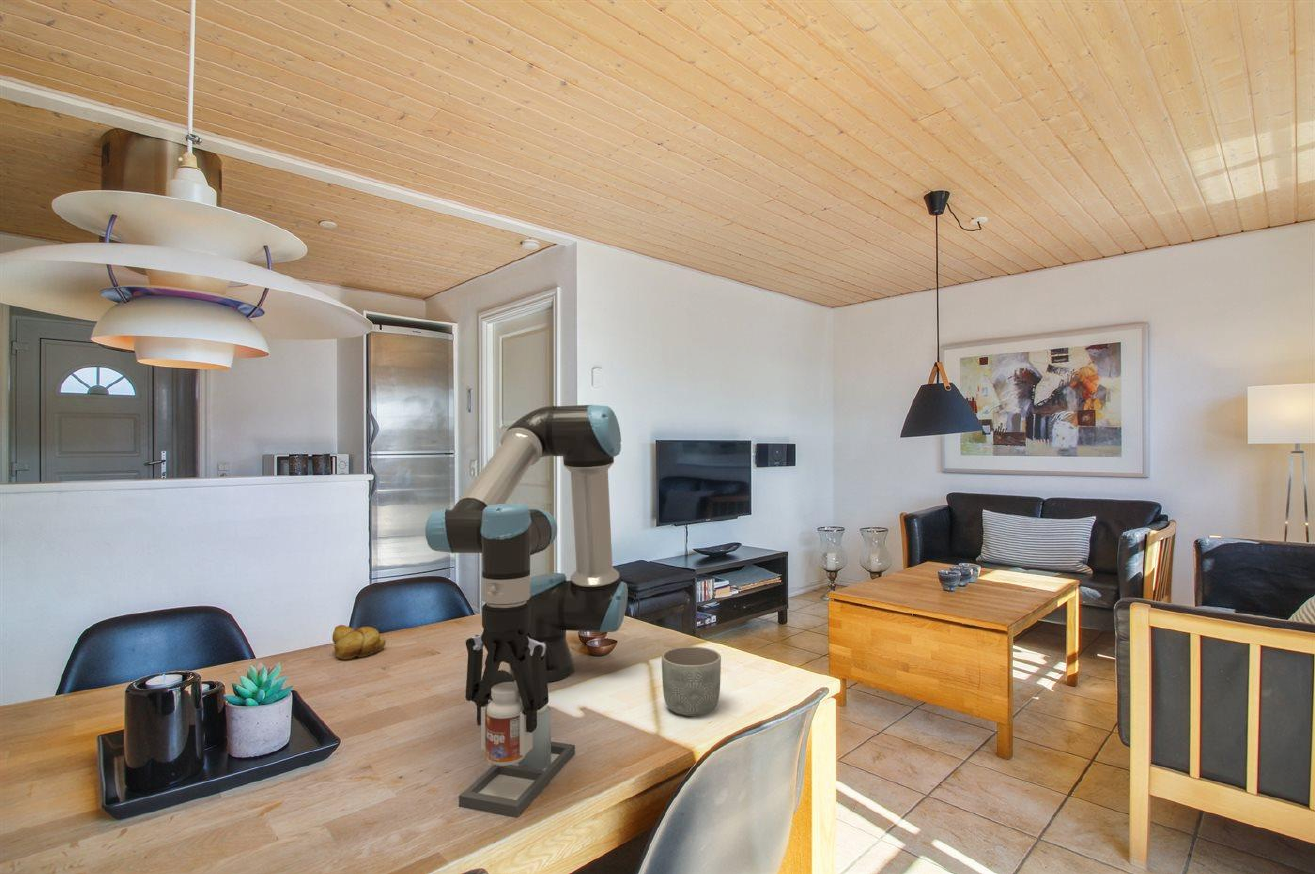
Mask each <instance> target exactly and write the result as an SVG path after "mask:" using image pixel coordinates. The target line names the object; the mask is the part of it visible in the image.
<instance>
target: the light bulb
mask: <svg viewBox="0 0 1315 874" xmlns="http://www.w3.org/2000/svg"><path fill="white" fill-rule="evenodd" d="M503 682H515V679H513V677H512V675H511V674H510V671H506V670H503V669H500V670H499V669H498V673H497V676H496V679H495V683H494V685H496V684H499V683H503ZM492 700H493V699H492V698H491V699H490V700H489V701H492Z"/></svg>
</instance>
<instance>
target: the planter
mask: <svg viewBox="0 0 1315 874" xmlns="http://www.w3.org/2000/svg"><path fill="white" fill-rule="evenodd" d="M721 666H722V656H721V653H720V652H718V651H716V650H715V649H711V648H708V647H702V646H691V645H690V646H688V645H687V646H679V647H674V648H669V649H668V650H665V651H664V652H663V653H662V654H661V673H662V675H661V677H662V692H663V699H664V703H665V705H666V707H667V708H668V709H669V710H670V711H672V712H673V713H675V714H678V715H682V716H688V717H698V716H703V715H706V714H709V713H711V712H712V711H714V710H715V709H716V708H717V705H718V704H719V699H720V694H721V674H722V673H721V671H722V670H721V669H722V668H721Z"/></svg>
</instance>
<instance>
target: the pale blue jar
mask: <svg viewBox="0 0 1315 874" xmlns="http://www.w3.org/2000/svg"><path fill="white" fill-rule="evenodd" d="M551 742H552V708H551V707H550V706H549V705H548V703H547V704H546V705H545V706H544V707H543V708H541V709H540V710H537V727H536V729H535V730H534V731H533V748H532V749H531V750H530V751H529V752H528V753H527V754H526V755H525V757H524V758H523V759H522V760H521V761H519V762H518V766H520V767H526V768H533V769H539V770H543V769H545V768H547V767H548V766H549V765H550V764H551Z"/></svg>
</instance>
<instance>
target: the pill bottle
mask: <svg viewBox="0 0 1315 874" xmlns="http://www.w3.org/2000/svg"><path fill="white" fill-rule="evenodd" d="M491 697H492V699H493V700H492V701H491V700H490V701H491V702H490V701H489V702H490V703H489V704H488V706H487V749H486V760H487V762H489V763H490V764H492V765H499V766H507V765H513V764H515V763H518V762H519V761H521V760H522V759H523V758H524V757H525V755H526V754H525V755H524V756H522V755H520V712H521V711H523V710H524V707H523V704H522V700H521V697H520V693H519V690H518V686H517V682H516V681H514V682H503V683H499V684H496V685H494V686H493V687H492V689H491Z"/></svg>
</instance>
